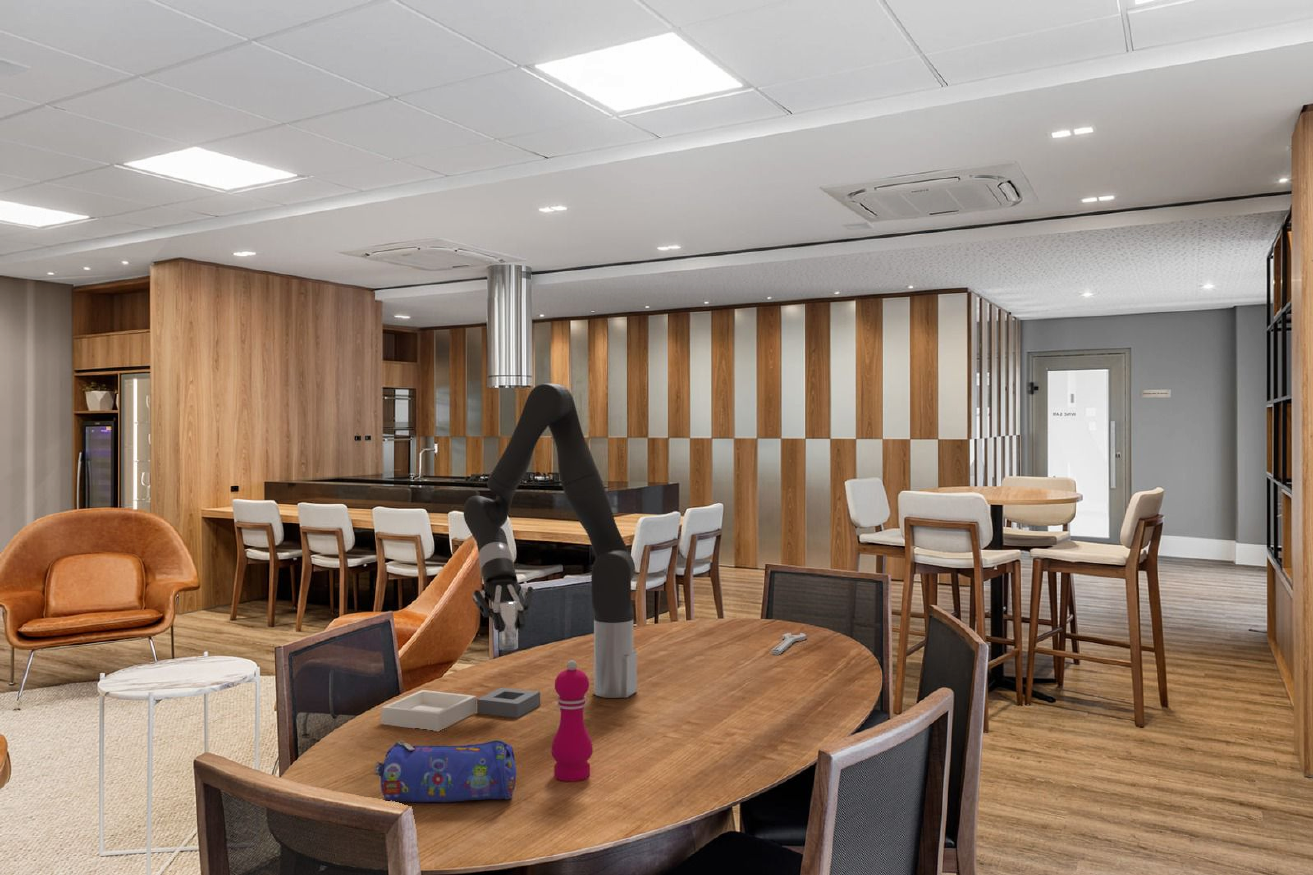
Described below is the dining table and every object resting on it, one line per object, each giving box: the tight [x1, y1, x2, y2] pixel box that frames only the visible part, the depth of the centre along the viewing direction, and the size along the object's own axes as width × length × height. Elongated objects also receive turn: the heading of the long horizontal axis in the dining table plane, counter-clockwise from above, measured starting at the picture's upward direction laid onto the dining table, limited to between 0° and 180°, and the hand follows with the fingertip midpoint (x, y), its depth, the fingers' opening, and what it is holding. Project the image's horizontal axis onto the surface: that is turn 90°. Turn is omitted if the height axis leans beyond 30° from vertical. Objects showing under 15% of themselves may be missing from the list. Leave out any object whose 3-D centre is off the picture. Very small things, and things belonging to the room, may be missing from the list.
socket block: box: [476, 687, 541, 719], centre depth 195 cm, size 10×10×3 cm
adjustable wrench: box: [770, 632, 807, 656], centre depth 257 cm, size 25×6×2 cm, turn 152°
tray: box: [381, 689, 477, 733], centre depth 189 cm, size 14×14×4 cm
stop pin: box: [498, 601, 519, 651], centre depth 195 cm, size 4×4×10 cm
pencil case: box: [373, 739, 517, 803], centre depth 146 cm, size 22×9×10 cm, turn 92°
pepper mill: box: [550, 660, 594, 782], centre depth 156 cm, size 7×7×20 cm
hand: (511, 629), depth 193 cm, fingers closed on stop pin, 4 cm apart
